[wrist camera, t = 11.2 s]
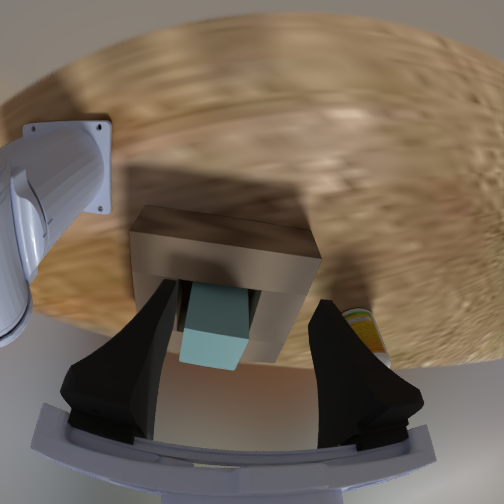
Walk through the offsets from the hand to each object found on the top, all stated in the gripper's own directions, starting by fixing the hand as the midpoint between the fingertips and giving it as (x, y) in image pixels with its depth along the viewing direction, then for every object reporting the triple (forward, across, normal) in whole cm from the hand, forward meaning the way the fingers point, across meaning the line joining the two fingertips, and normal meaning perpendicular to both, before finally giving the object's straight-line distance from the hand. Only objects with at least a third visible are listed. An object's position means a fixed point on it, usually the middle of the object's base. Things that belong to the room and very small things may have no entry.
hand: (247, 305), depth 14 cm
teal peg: (+10, +1, +8) cm, 13 cm away
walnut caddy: (+10, +1, +8) cm, 13 cm away
